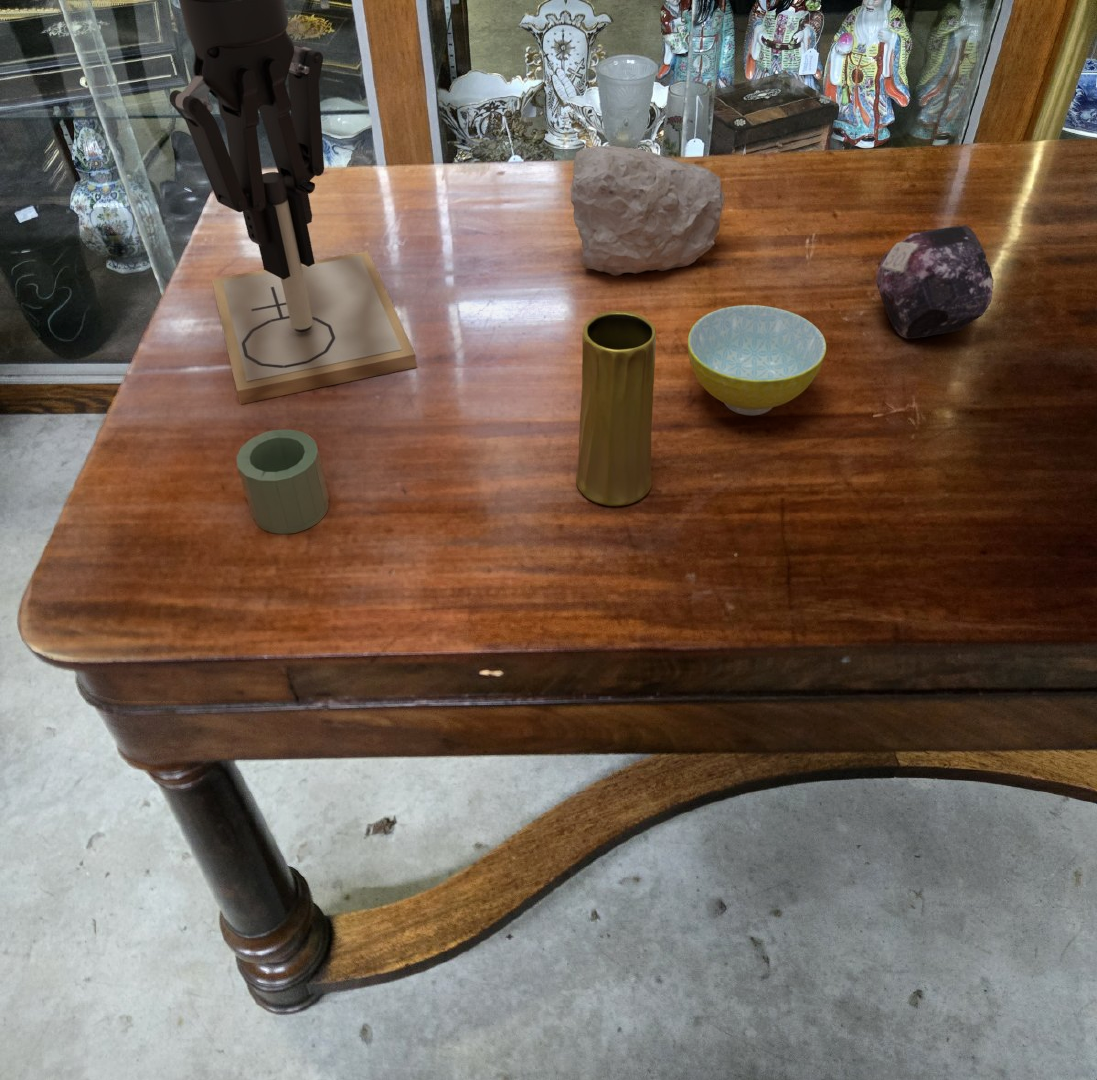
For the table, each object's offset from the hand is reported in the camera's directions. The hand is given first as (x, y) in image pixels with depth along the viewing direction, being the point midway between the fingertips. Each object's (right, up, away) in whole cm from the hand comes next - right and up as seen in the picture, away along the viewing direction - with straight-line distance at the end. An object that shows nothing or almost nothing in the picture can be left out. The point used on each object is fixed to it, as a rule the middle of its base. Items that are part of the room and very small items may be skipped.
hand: (289, 266), depth 92 cm
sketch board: (0, -4, +8) cm, 9 cm away
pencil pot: (+3, -22, -10) cm, 24 cm away
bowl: (+40, -12, -1) cm, 42 cm away
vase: (+28, -20, -8) cm, 36 cm away
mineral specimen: (+59, -4, +7) cm, 59 cm away
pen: (0, -5, +4) cm, 6 cm away
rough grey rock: (+33, +5, +16) cm, 37 cm away
